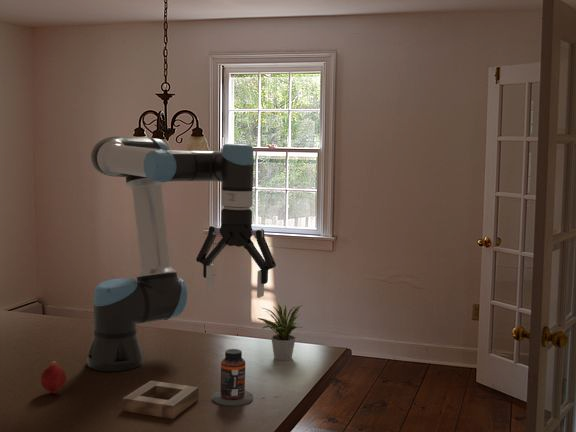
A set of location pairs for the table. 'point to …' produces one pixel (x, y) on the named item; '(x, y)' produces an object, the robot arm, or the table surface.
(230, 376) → the supplement bottle
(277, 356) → the house plant
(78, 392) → the table surface
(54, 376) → the onion
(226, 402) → the grey domed disc
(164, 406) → the pocket holder
